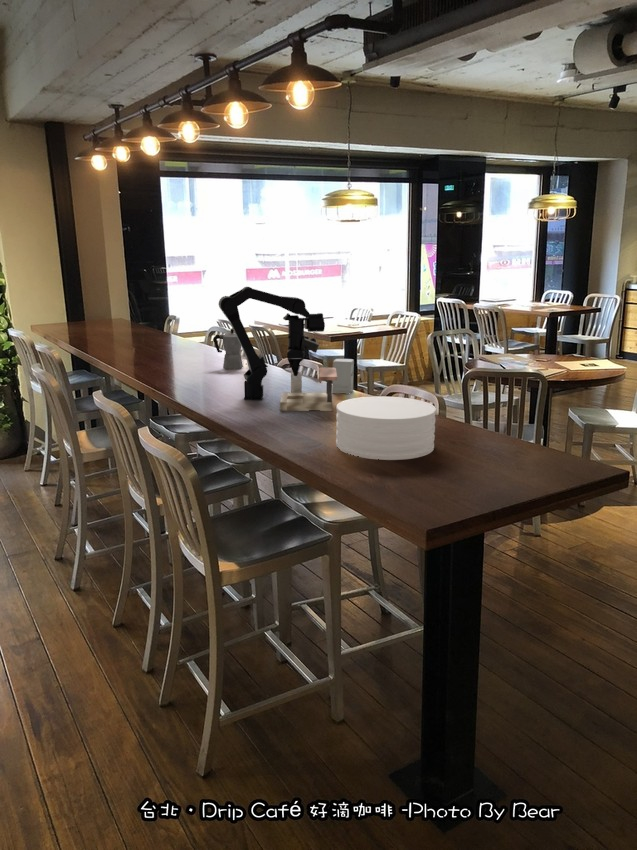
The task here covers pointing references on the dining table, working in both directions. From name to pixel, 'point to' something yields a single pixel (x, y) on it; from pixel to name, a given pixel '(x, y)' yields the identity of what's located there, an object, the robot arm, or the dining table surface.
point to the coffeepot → (230, 350)
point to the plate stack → (385, 427)
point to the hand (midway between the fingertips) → (296, 373)
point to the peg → (296, 383)
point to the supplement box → (343, 376)
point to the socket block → (311, 396)
